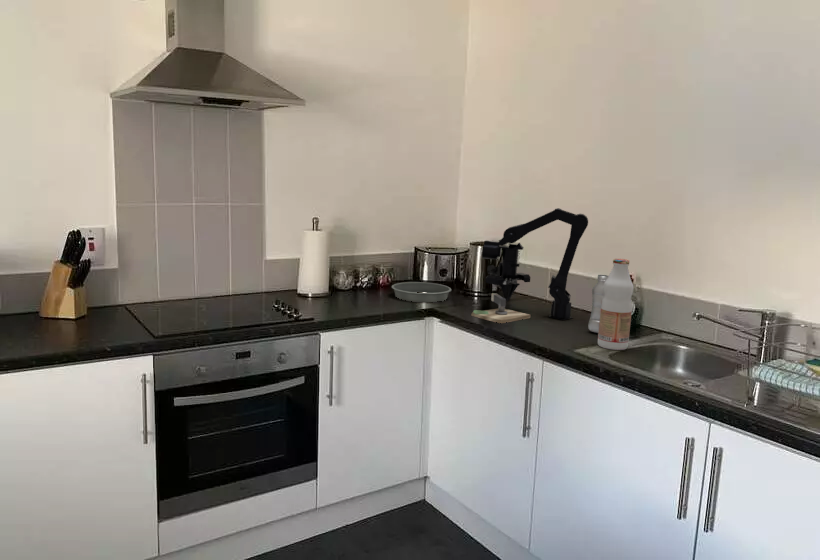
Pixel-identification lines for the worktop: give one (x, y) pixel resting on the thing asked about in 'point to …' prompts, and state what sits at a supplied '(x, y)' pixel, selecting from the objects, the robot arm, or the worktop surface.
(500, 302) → the peg
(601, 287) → the plastic bottle
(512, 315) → the beige flat board
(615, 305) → the fruit juice
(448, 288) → the cake pan
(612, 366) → the worktop surface
